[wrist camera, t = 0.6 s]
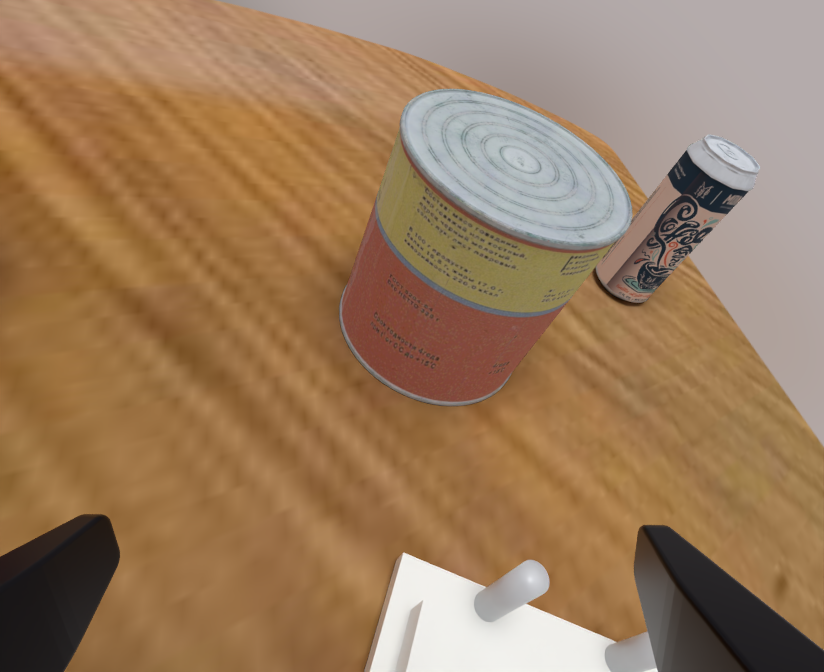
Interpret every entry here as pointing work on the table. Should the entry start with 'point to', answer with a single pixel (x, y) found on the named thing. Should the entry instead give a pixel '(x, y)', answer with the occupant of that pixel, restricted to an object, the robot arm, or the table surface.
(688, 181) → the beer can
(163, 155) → the table surface
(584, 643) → the white peg stand
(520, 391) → the table surface
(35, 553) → the robot arm
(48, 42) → the table surface
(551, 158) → the canned food
